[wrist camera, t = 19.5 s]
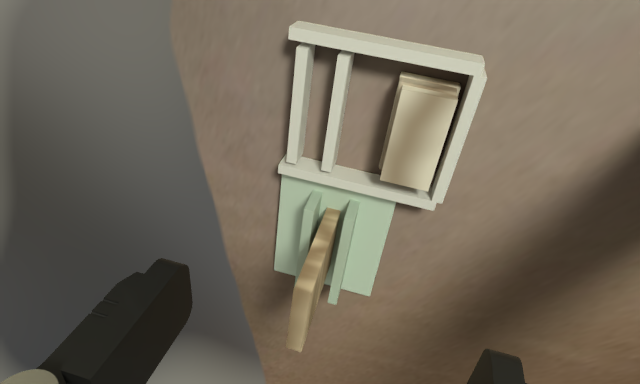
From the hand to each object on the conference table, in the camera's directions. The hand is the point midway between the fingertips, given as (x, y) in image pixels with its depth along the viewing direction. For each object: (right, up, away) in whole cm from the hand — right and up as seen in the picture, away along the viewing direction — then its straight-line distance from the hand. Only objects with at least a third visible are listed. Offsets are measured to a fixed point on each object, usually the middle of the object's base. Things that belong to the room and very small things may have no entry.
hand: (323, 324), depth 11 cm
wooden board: (+1, -2, +35) cm, 35 cm away
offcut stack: (+9, +10, +27) cm, 30 cm away
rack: (+5, +11, +27) cm, 30 cm away
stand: (+1, -1, +36) cm, 36 cm away
